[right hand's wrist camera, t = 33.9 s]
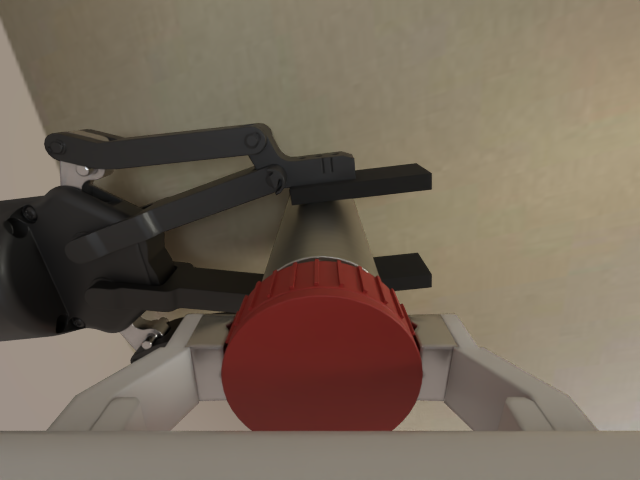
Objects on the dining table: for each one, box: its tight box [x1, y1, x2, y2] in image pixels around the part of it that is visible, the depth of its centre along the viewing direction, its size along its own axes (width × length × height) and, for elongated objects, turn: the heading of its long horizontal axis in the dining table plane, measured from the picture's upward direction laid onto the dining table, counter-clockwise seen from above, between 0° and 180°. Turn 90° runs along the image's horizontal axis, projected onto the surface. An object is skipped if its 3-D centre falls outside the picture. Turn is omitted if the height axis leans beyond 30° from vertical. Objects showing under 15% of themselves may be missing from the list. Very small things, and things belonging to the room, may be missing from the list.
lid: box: [221, 259, 423, 431], centre depth 10 cm, size 5×5×2 cm
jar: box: [262, 197, 379, 281], centre depth 17 cm, size 4×4×15 cm
